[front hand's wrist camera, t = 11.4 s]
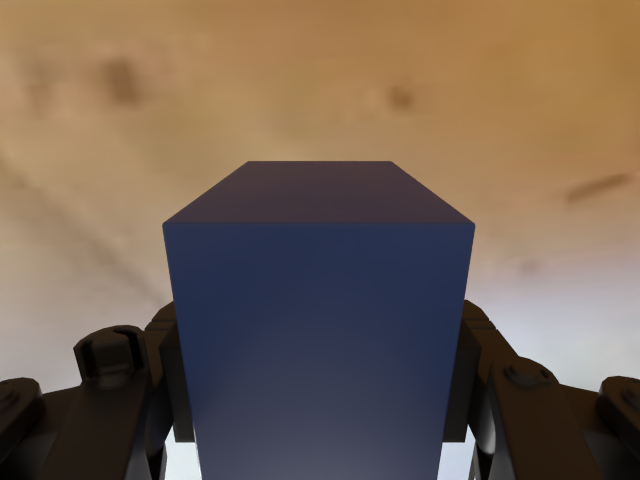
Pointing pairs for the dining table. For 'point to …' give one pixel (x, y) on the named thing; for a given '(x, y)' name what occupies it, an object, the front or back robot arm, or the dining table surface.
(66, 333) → the dining table surface
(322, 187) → the bar
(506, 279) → the dining table surface
